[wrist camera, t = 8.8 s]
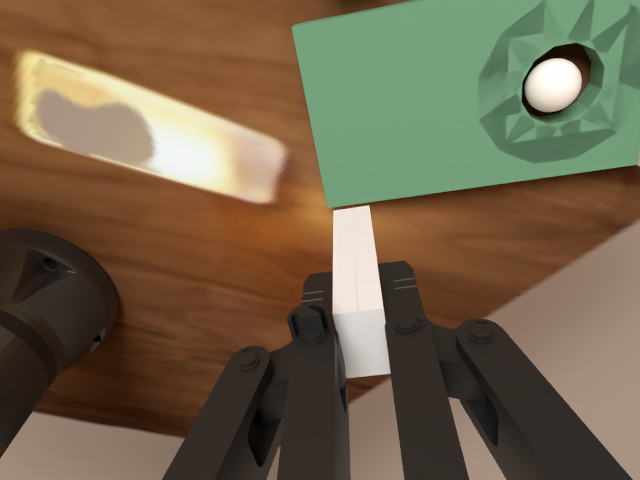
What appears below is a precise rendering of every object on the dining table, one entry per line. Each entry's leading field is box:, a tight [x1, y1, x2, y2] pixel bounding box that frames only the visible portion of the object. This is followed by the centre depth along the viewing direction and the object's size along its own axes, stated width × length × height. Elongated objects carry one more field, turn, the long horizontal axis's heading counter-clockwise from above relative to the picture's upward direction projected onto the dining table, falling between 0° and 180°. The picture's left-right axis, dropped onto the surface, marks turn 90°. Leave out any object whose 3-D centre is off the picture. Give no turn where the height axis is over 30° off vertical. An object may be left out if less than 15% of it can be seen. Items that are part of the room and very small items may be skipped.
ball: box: [524, 58, 582, 112], centre depth 32 cm, size 4×4×4 cm
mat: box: [292, 0, 640, 208], centre depth 32 cm, size 25×14×4 cm, turn 101°
